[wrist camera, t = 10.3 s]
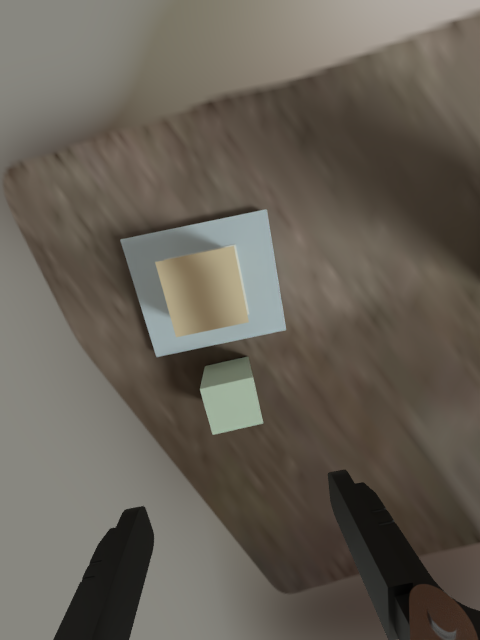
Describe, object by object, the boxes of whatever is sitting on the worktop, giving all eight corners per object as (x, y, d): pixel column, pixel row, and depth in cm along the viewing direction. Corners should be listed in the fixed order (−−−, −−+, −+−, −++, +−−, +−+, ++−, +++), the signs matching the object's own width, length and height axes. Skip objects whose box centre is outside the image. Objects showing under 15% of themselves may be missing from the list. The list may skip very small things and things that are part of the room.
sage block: (248, 356, 26) (252, 377, 21) (256, 395, 27) (263, 423, 22) (204, 366, 26) (199, 389, 21) (215, 404, 27) (212, 434, 22)
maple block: (232, 250, 22) (233, 245, 17) (244, 310, 23) (248, 322, 18) (171, 263, 22) (155, 262, 17) (186, 322, 23) (176, 337, 18)
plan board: (264, 211, 22) (266, 209, 21) (283, 327, 25) (286, 330, 24) (124, 240, 22) (119, 239, 21) (159, 353, 25) (156, 357, 24)
